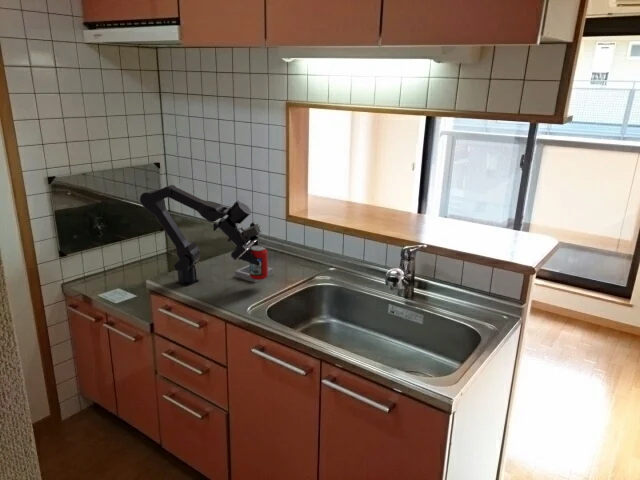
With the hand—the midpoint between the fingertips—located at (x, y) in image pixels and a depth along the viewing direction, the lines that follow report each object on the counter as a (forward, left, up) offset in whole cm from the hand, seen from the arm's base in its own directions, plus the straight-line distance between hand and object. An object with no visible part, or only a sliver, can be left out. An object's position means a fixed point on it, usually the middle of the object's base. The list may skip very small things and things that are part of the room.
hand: (261, 261), depth 187 cm
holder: (+8, +11, -11) cm, 17 cm away
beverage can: (-1, +1, -7) cm, 7 cm away
